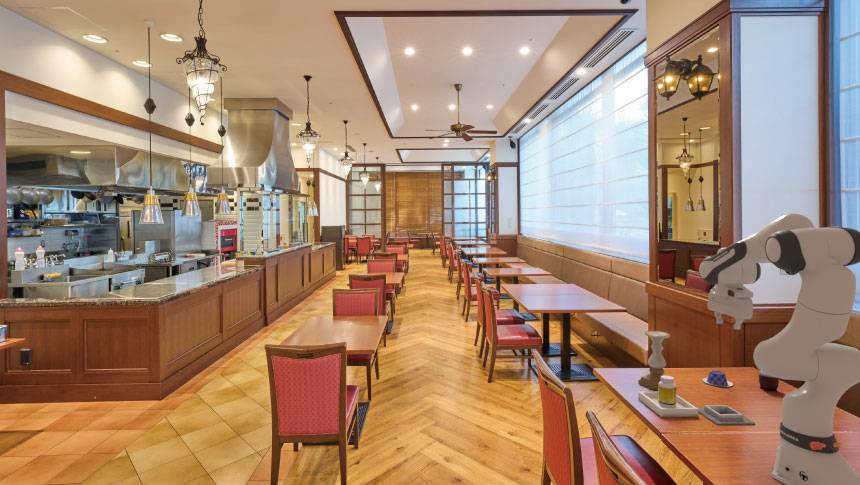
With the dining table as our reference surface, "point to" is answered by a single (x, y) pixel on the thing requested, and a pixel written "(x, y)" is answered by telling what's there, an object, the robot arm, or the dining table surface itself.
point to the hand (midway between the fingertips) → (728, 326)
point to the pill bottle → (667, 391)
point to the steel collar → (724, 415)
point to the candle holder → (655, 361)
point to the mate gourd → (768, 382)
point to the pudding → (717, 379)
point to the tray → (679, 410)
